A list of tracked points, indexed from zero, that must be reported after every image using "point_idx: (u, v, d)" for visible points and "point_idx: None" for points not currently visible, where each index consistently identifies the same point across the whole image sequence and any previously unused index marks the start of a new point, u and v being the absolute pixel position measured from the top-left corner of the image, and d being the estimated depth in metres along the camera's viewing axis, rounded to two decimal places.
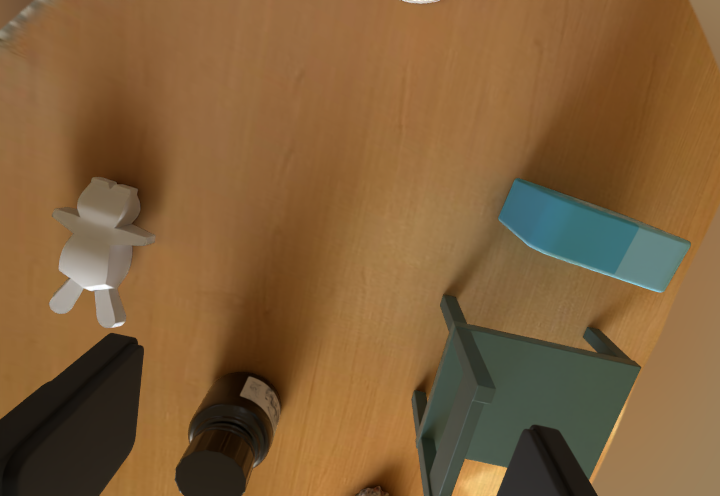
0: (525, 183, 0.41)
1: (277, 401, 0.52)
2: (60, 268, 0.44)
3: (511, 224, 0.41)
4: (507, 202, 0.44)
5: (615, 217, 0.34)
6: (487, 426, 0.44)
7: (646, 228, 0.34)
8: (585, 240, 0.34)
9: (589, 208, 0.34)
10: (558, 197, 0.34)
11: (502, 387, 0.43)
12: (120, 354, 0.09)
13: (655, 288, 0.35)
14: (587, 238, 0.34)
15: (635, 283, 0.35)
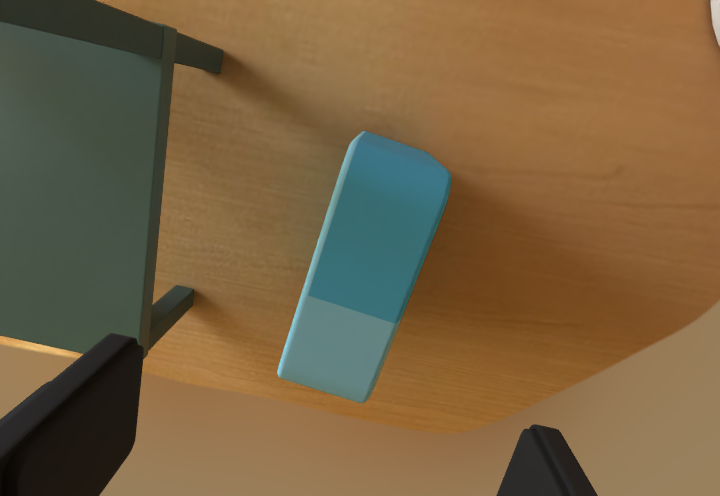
0: (433, 158, 0.25)
1: None
2: None
3: (368, 135, 0.24)
4: None
5: (413, 283, 0.19)
6: None
7: (393, 334, 0.20)
8: (371, 236, 0.18)
9: (432, 237, 0.18)
10: (449, 182, 0.18)
11: (51, 136, 0.22)
12: (120, 354, 0.09)
13: (285, 363, 0.20)
14: (375, 241, 0.19)
15: (292, 331, 0.20)
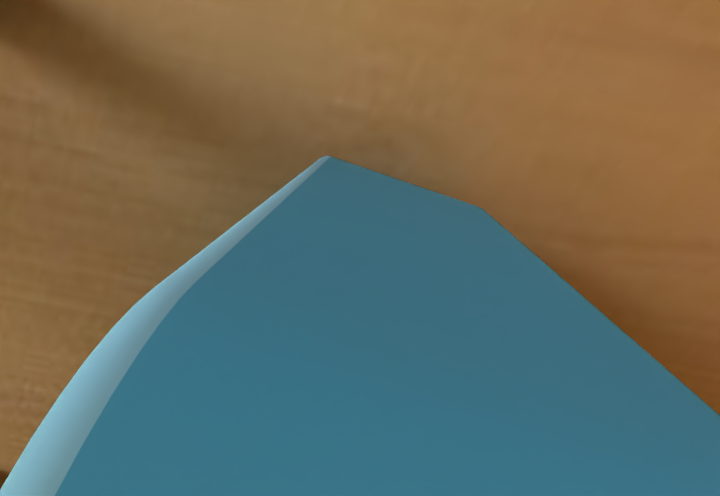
0: (517, 240, 0.09)
1: None
2: None
3: (325, 182, 0.07)
4: (398, 182, 0.11)
5: None
6: None
7: None
8: None
9: None
10: None
11: None
12: None
13: None
14: None
15: None
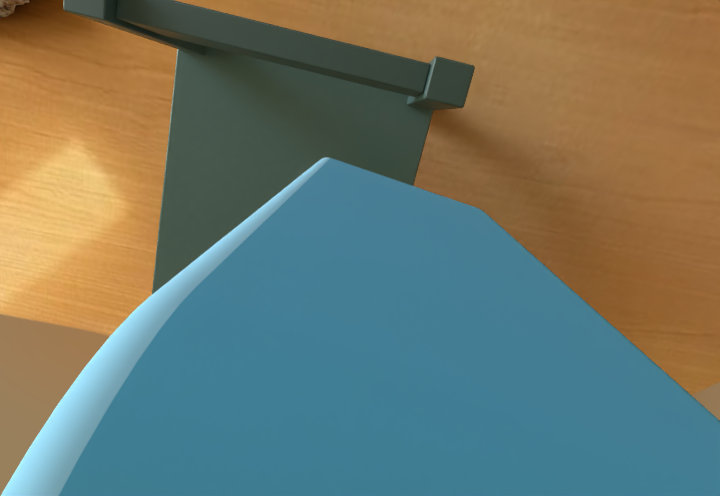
0: (517, 242, 0.09)
1: None
2: None
3: (324, 184, 0.07)
4: (398, 183, 0.11)
5: None
6: (242, 153, 0.25)
7: None
8: None
9: None
10: None
11: None
12: None
13: None
14: None
15: None
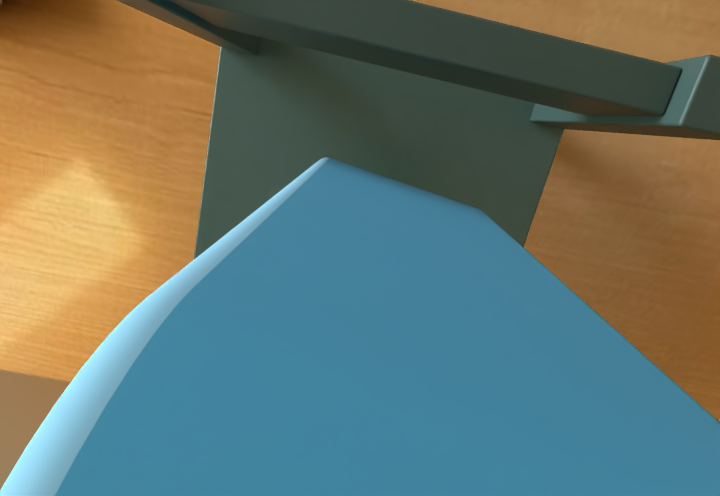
0: (516, 242, 0.09)
1: None
2: None
3: (324, 185, 0.07)
4: (398, 184, 0.11)
5: None
6: None
7: None
8: None
9: None
10: None
11: None
12: None
13: None
14: None
15: None
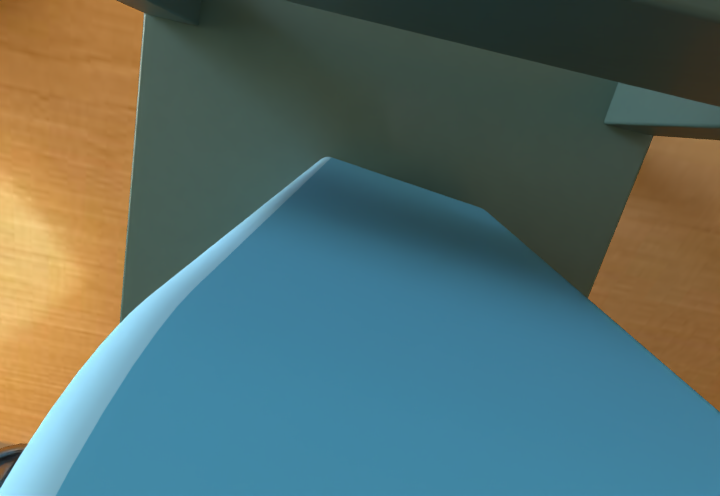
0: (520, 242, 0.09)
1: None
2: None
3: (326, 184, 0.07)
4: (400, 183, 0.11)
5: None
6: None
7: None
8: None
9: None
10: None
11: None
12: None
13: None
14: None
15: None
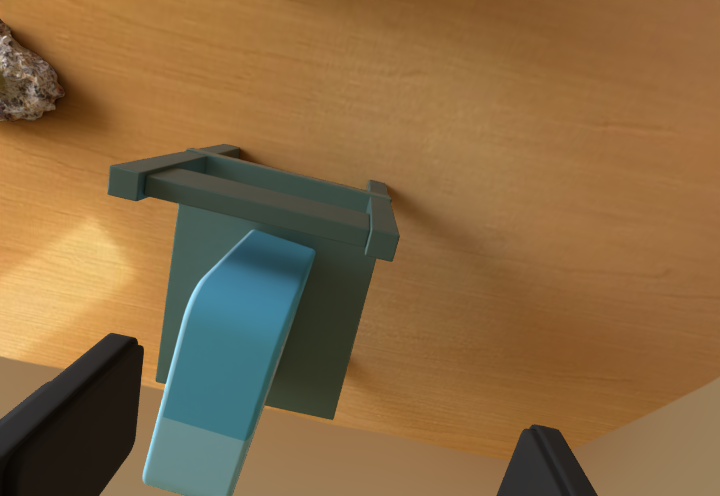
0: (308, 264, 0.27)
1: None
2: None
3: (243, 248, 0.26)
4: (278, 241, 0.29)
5: (259, 406, 0.21)
6: None
7: (244, 450, 0.22)
8: (216, 368, 0.20)
9: (271, 368, 0.20)
10: (288, 319, 0.20)
11: None
12: (120, 354, 0.09)
13: (147, 475, 0.22)
14: (220, 371, 0.20)
15: (151, 447, 0.22)
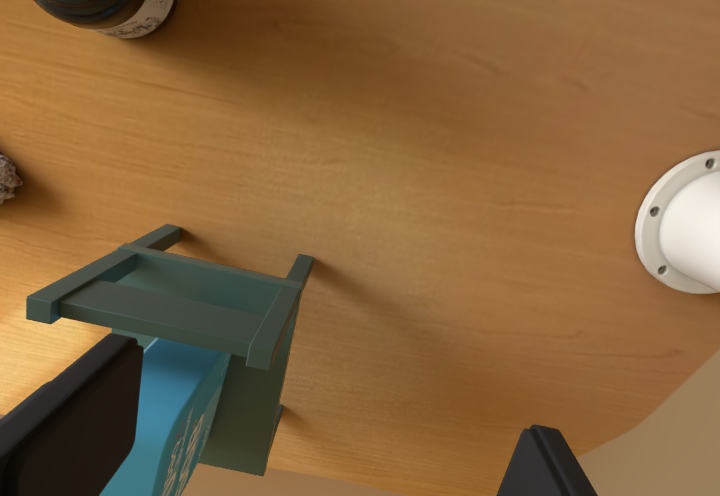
0: (218, 355, 0.31)
1: (139, 34, 0.35)
2: None
3: (157, 346, 0.29)
4: None
5: None
6: None
7: None
8: None
9: (161, 468, 0.24)
10: (175, 426, 0.24)
11: None
12: (120, 354, 0.09)
13: None
14: (118, 471, 0.24)
15: None
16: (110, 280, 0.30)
